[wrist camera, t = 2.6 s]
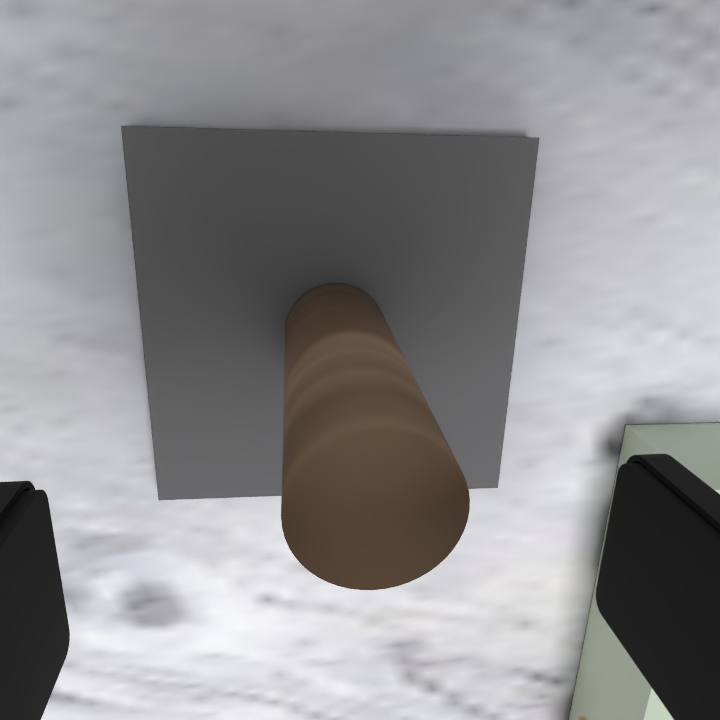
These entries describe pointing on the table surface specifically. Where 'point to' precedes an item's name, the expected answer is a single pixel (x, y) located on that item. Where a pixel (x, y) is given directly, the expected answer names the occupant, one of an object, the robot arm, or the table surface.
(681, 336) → the table surface
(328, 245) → the mat
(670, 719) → the socket block
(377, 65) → the table surface
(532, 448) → the table surface
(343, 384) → the dowel
